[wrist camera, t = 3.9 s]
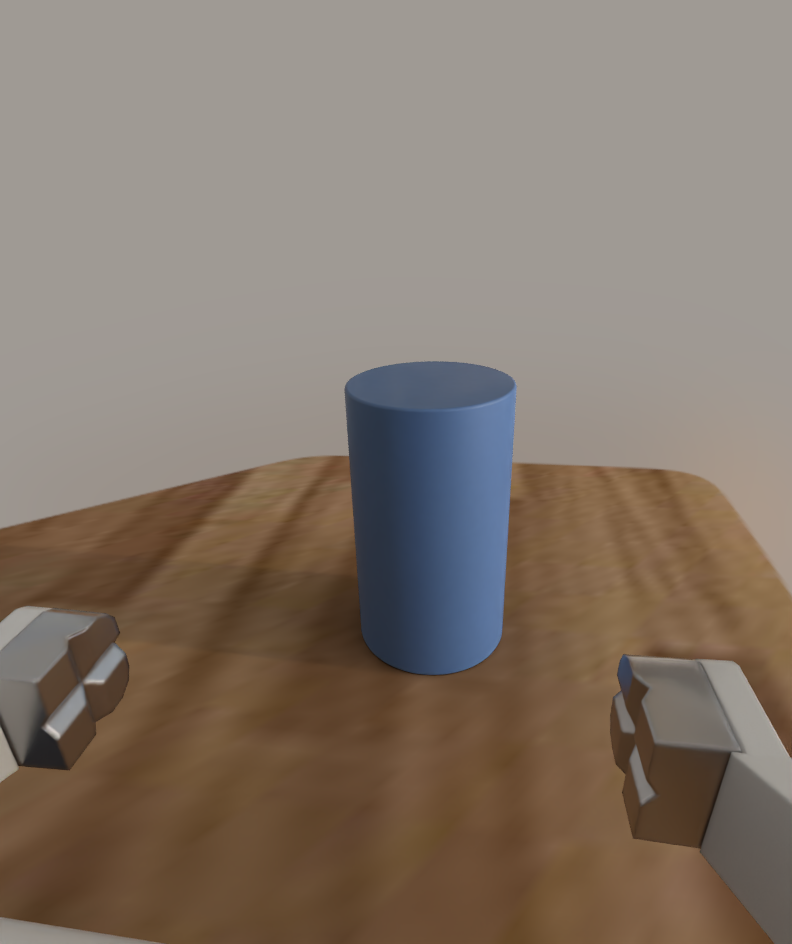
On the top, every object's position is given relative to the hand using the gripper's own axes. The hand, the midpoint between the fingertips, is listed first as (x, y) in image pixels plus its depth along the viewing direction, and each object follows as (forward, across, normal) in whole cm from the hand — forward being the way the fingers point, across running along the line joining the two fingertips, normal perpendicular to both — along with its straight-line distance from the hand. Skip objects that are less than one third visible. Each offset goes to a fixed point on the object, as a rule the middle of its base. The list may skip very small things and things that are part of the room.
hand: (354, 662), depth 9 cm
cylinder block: (+12, 0, +9) cm, 14 cm away
